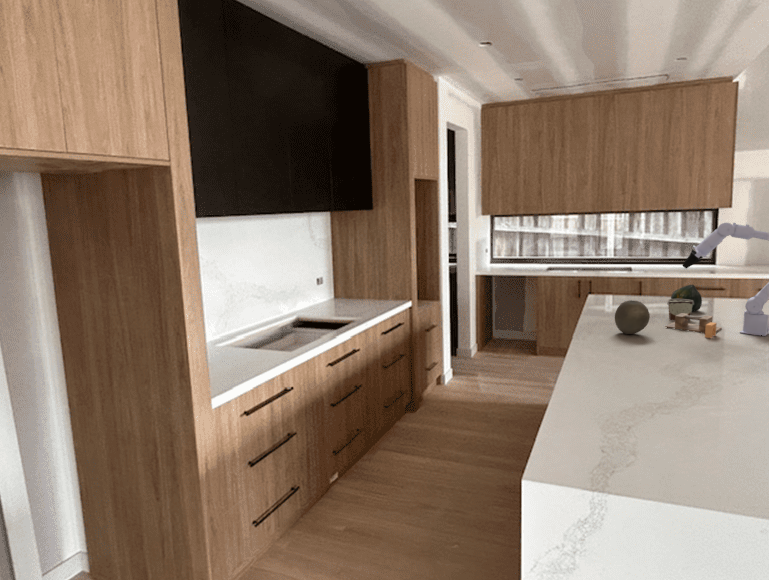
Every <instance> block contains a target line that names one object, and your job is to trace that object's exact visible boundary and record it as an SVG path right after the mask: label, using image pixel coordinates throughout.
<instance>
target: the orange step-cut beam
mask: <svg viewBox="0 0 769 580" xmlns="http://www.w3.org/2000/svg"><path fill="white" fill-rule="evenodd" d="M716 327H717V322H714V321H712V322H710V323H708V324H706V328H705V333H704V338H707V339H712V338H713V337H715V336H716V335H717V334H716V333H717V332H716Z"/></svg>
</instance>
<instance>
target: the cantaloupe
mask: <svg viewBox="0 0 769 580" xmlns="http://www.w3.org/2000/svg"><path fill="white" fill-rule="evenodd" d="M650 315H651V314H650V312H649V309H648V307H647V306H646V305H645V304H644V303H643V302H641V301H638V300H633V299H631V300H630V299H629V300H626V301H625V300H624V302H622V303H620V305H618V306H617V308H616V310H615V312H614V324H615V326H616V327H617V329H618V330H619V331H620V332H621V333H623V334H625V335H636V334H637V333H639V332H641V331H643V330H644V329H645V328H647V325H648V324H649V322H650V318H651V317H650Z"/></svg>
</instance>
